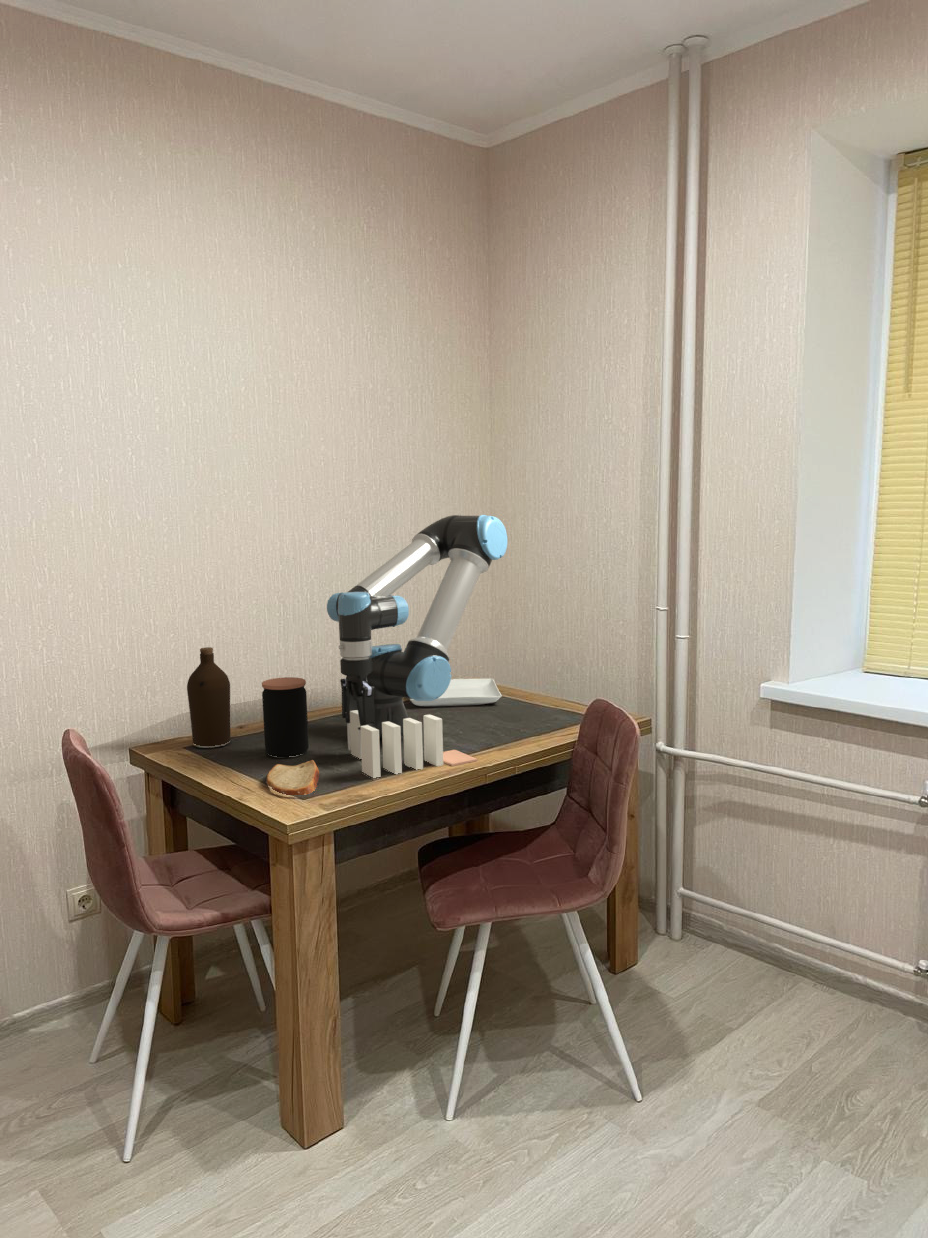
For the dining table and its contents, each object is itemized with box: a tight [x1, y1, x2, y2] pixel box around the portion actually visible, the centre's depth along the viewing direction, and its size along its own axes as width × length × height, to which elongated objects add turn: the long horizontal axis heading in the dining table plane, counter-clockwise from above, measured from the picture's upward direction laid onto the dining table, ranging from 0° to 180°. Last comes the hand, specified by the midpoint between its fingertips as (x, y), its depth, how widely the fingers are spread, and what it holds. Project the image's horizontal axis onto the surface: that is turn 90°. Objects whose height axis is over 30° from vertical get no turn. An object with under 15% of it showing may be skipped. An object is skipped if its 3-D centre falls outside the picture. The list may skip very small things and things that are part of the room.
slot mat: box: [443, 749, 478, 767], centre depth 224 cm, size 7×10×1 cm
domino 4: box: [403, 717, 424, 771], centre depth 218 cm, size 2×6×11 cm, turn 33°
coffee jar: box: [261, 676, 310, 757], centre depth 231 cm, size 11×11×18 cm
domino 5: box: [422, 713, 444, 767], centre depth 221 cm, size 2×6×11 cm, turn 33°
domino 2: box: [360, 725, 382, 778], centre depth 212 cm, size 2×6×11 cm, turn 33°
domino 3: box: [381, 721, 403, 775], centre depth 215 cm, size 2×6×11 cm, turn 33°
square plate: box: [409, 677, 502, 707], centre depth 289 cm, size 27×27×4 cm
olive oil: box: [186, 646, 232, 746], centre depth 240 cm, size 11×11×25 cm
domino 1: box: [350, 710, 362, 760], centre depth 227 cm, size 2×6×11 cm, turn 33°
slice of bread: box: [265, 759, 320, 795], centre depth 208 cm, size 18×18×4 cm
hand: (359, 751), depth 227 cm, fingers closed on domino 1, 6 cm apart
